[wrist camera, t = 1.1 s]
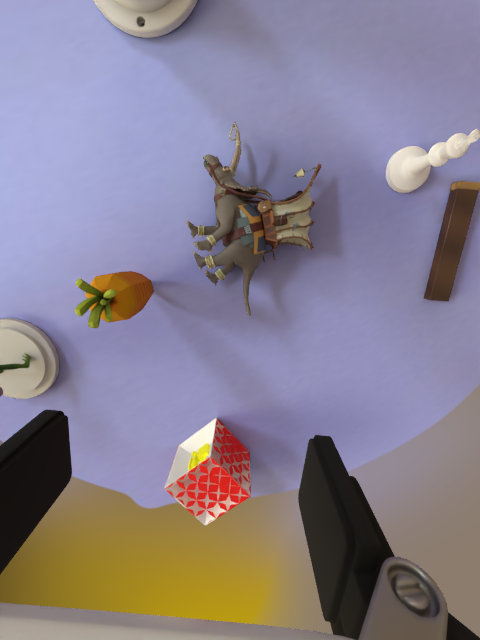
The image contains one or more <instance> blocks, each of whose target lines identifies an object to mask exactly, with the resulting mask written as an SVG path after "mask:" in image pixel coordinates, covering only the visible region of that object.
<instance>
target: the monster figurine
mask: <svg viewBox="0 0 480 640" xmlns="http://www.w3.org/2000/svg"><path fill="white" fill-rule="evenodd" d="M58 373H59V357H58V353H57V351H56V348H55V346H54V345H53V343H52V341H51V340H50V339H49V337H48V336H47V335H46V334H45V333H44V332H43V331H41V330H40V329H39V328H38V327H36V326H34V325H33V324H31V323H28V322H26V321H23V320H20V319H14V318H3V319H0V396H1V395H5V396H8V397H12V398H19V399H26V398H32V397H35V396H38V395H40V394H41V393H43V392H44V391H46V390H47V389H48V388H50V387H51V386H52V385H53V383H54V382H55V380H56V378H57V376H58Z"/></svg>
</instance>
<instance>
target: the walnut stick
mask: <svg viewBox="0 0 480 640" xmlns="http://www.w3.org/2000/svg"><path fill="white" fill-rule="evenodd" d="M450 190H451V191H450V195H449V199H448V203H447V207H446V211H445V215H444V219H443V223H442V227H441V231H440V235H439V239H438V243H437V247H436V251H435V255H434V259H433V263H432V267H431V271H430V275H429V279H428V283H427V288H426V292H425V296H424V298H425V299H429V300H439V301H449V298H450V294H451V290H452V287H453V283H454V279H455V276H456V272H457V268H458V265H459V261H460V257H461V254H462V250H463V246H464V243H465V239H466V235H467V232H468V228H469V224H470V221H471V217H472V213H473V210H474V206H475V202H476V199H477V195H478V191H479V190H480V183H478V182H465V181H459V182H456V183H453V184H452V185H451V189H450Z"/></svg>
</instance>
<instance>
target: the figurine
mask: <svg viewBox="0 0 480 640" xmlns="http://www.w3.org/2000/svg"><path fill="white" fill-rule="evenodd" d="M234 123H235V122H234ZM234 125H235V126H233V127H236V132H237V135H236V138H235V139H236V140H237V141H236V149H235V153H234V157H233V159H232V162H231V164H230V166H229V167H227V166H225V167H223V166H222V165H221V163H220V162H219V160H218V157H214V156H212V155H206V156H204V157H203V159H205V161H204V167H205V168H206V169H207V171H208V172H209V174H210V176H211V177H212V178H213V180H214V182H215V184H216V188H215V196H214V201H215V204H216V216H217V224H216V226H206V227H204V226H201V225H200V227H199V226H198V227H195V226H194V225H193V224H192V223H190V222H189V221H188V220H187V224H188V227H189V228H190V229H191V235H192V237H193V238H194V236H195V235H196V234H198V236H201V237H202V235H203V236H204V235H208V238H207V240H205V241H201V242H195V243H194V245H195V247H198V249H200V250H207V251H208V252H210V253H211V249H212V246H213V245H215V246H216V244H215V243H217V241H219V240H220V239H221V238H222V240H223V244H224V246H226V248H225V249H224V250H223V251H222V252H221V253H219V254H218V255H215V256H212V255H211V256H209V255H208V257H206V256H205V258H203V257H201V256H200V255H198V254H197V253H196V252H193V254H194V256H195V259H196V261H197V263H198V266H199V268H200V270H201V269H202V267H203V266H205V265H207V267H208V269H210V267H211V268H212V269H213V266H214V268H216V266H224V267H223V268H222V269H219V270H217V272H215V274H212V273H209V272H208V271H207V270H205V272H206V273H205V274H206V276H207V277H208V278H209V279H210V280H211V281H212V282H213V283H214V284H215V285H216V282H217V280H218V279H220V280H221V279H223V280H224V277H226V276H225V275H227V274H229V273H230V272H231V271H232V270H233V269H234V267H235V266H240V267H241V268H242V271H243V275H244V280H243V293H244V302H245V306H246V309H247V312H248V315H249V316H250V315H251V312H250V308H249V302H248V294H249V284H250V280H251V277H252V275H253V274H254V272H255V270H256V268H257V267H258V265H259V263H260V261H261V259H262V257H263V260H264V253H268V252H272V251H273V256H274V249H275V248H276V246H277V245H279V244H294V245H299V246H304V247H309V249H310V250H312V248H313V246H312V244H311V243H312V242H311V243H310V240H309V237H308V231H309V228H310V226H311V225H312V224H313V223H314V221H313V220H311V219H310V217H309V214H308V213H309V211H310V209H311V208H312V207H313V205H314V204H315V202H313V201H311V198H310V195H309V192H310V189H311V186H312V184H313V181H314V179H315V177H316V176H317V174H318V172H319V170H320V168H321V164H320V163H319V164H318V166H317V168H316V167H314V168H312V169H316V170H315V173H314V175H313V176H312V179H311V182H310V184H309V185H308V186H307V188H306V189H305V190H304V191H303V193H302V191H298V192H297V193H296V194H295V195H293V196H291V197H289V198H286V199H284V200H281V201H278V202H271V200H267V199H266V198H263V197H260V196H256V193H263V194H266V195H267V196H269V195H270V196H271V194H270V193H269V192H268V191H266V190H263V189H258V187H257V186H252V187H245V186H242V185H240V184H239V183H238V182H236V181H235V180H234V179H233V176H234V173H235V171H236V169H237V166H238V163H239V159H240V154H241V147H240V144H241V141H240V133H239V130H238V127H237V125H236V123H235V124H234ZM233 127H232V129H233ZM232 129H231V132H232ZM231 132H230V134H231ZM230 134H229V138H230ZM235 139H231V138H230V140H235ZM206 160H207V161H208V163H207V161H206ZM312 169H309V170H307V171H310V170H312ZM307 171H304V170H303V168H302V169H301V170H300V171H298V172H297V173H296V174H295V175H294V177H304V175H305V172H307ZM265 192H266V193H265ZM267 193H268V194H269V195H268V194H267ZM270 196H269V197H270ZM253 197H254V198H259V199H262V200H264V201H252V200H250V199H252V198H253ZM271 197H272V196H271ZM271 197H270V199H271ZM248 199H249V200H248ZM247 202H249V203H257V204H259V205H258V210H259V211H260V212H261V216H260V215H259V214H258V213H257V207H256V205H255V207H256V210H255V209H254V208H253V207H252V205H249V204H248V203H247ZM209 235H210V236H209ZM266 243H267V244H269V245H271V246H272V249H273V250H271V251H267V252H265V250H266ZM299 248H301V247H299ZM306 249H307V248H306ZM274 260H275V256H274ZM264 262H265V260H264Z"/></svg>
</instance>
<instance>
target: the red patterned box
mask: <svg viewBox="0 0 480 640" xmlns="http://www.w3.org/2000/svg"><path fill="white" fill-rule="evenodd" d="M164 489H165V490H166V491H167V492H168V493H169V494H171V495H172V496H173V497H174V498H175V499H176V500H177V501H178V502H179V503H180V504H182V505H183V506H184V507H185V508H186V509H187V510H188V511H189V512H190V513H191V514H193V515H194V516H195V517H196V518H197V519H198V520H199V521H200V522H201V523H202V524H204V525H207V524H209V523H210V522H212V521H213V520H215V519H216V518H218V517H219V516H221V515H223V514H224V513H226V512H227V511H229V510H230V509H232V508H233V507H235V506H236V505H238V504H240V503H241V502H242V501H244V500H246V499H247V498H249V497H250V496H251V486H250V452H249V451H248V450H247V449H246V448H245V447H244V446H243V445H242V444H241V442H240V441H239V440H238V439H237V438H236V437H235V436H234V435H233V434H232V433H231V432H230V431H229V430H228V429H227V428H226V427H225V426H224V425H223V424H222V423H221V422H220V421H219V420H218V419H217V418H216V419H214V420H213V421H212V422H210V423H209V424H207V425H206V426H205V427H203V428H202V429H201V430H199V431H198V432H197V433H195V434H194V435H192V436H191V437H190V438H188V439H187V440H186V441H184V442H183V443H182V444H180V445H179V446H178V449H177V452H176V455H175V458H174V461H173V464H172V467H171V470H170V473H169V476H168V479H167V482H166V485H165V488H164Z"/></svg>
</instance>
